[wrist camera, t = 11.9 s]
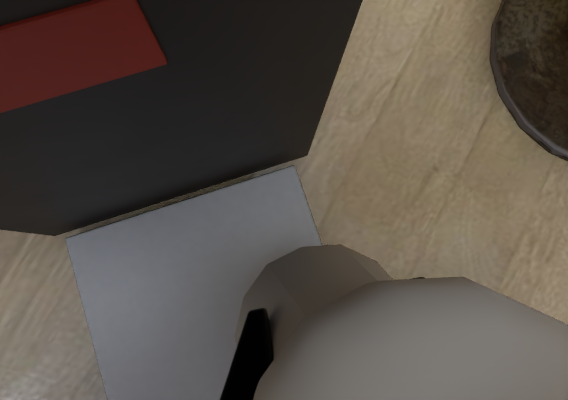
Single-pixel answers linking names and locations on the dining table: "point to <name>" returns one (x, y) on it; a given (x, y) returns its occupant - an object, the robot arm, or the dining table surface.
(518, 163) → the dining table surface
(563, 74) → the lantern
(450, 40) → the dining table surface
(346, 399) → the salt shaker
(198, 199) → the coffee maker
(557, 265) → the dining table surface
